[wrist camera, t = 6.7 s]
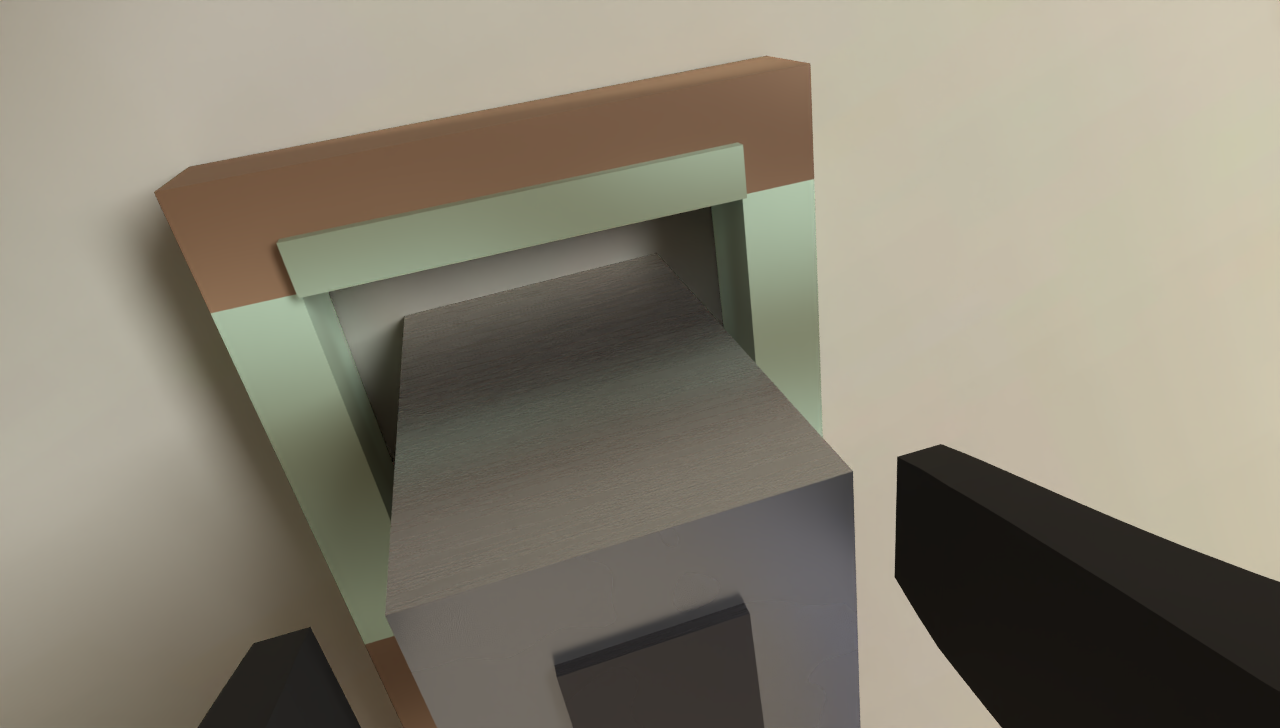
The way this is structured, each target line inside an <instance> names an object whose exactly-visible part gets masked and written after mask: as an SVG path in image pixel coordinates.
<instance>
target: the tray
mask: <svg viewBox="0 0 1280 728" xmlns="http://www.w3.org/2000/svg"><path fill="white" fill-rule="evenodd" d="M154 193H155V195H156V197H157V200H158V202H159V204H160V206H161V208H162V210H163V212H164V215H165V217H166V219H167V221H168V223H169V225H170V227H171V230H172V232H173V234H174V236H175V238H176V240H177V242H178V245H179V247H180V249H181V251H182V253H183V255H184V258H185V260H186V262H187V264H188V266H189V268H190V270H191V273H192V275H193V277H194V279H195V281H196V283H197V285H198V288H199V290H200V292H201V294H202V296H203V298H204V300H205V303H206V305H207V307H208V309H209V311H210V313H211V315H212V318H213V320H214V322H215V324H216V326H217V328H218V330H219V333H220V335H221V337H222V339H223V341H224V343H225V346H226V348H227V350H228V352H229V354H230V356H231V358H232V361H233V363H234V365H235V367H236V369H237V371H238V373H239V376H240V378H241V380H242V382H243V384H244V386H245V388H246V391H247V393H248V395H249V397H250V399H251V401H252V403H253V406H254V408H255V410H256V412H257V414H258V416H259V419H260V421H261V423H262V425H263V427H264V429H265V431H266V434H267V436H268V438H269V440H270V442H271V444H272V446H273V449H274V451H275V453H276V455H277V457H278V459H279V461H280V464H281V466H282V468H283V470H284V472H285V474H286V476H287V479H288V481H289V483H290V485H291V487H292V489H293V491H294V494H295V496H296V498H297V500H298V502H299V504H300V507H301V509H302V511H303V513H304V515H305V517H306V519H307V522H308V524H309V526H310V528H311V530H312V532H313V534H314V537H315V539H316V541H317V543H318V545H319V547H320V549H321V552H322V554H323V556H324V558H325V560H326V562H327V564H328V567H329V569H330V571H331V573H332V575H333V577H334V579H335V582H336V584H337V586H338V588H339V590H340V592H341V595H342V597H343V599H344V601H345V603H346V605H347V607H348V610H349V612H350V614H351V616H352V618H353V620H354V622H355V625H356V627H357V629H358V631H359V633H360V635H361V637H362V640H363V642H364V644H365V646H366V648H367V650H368V652H369V655H370V657H371V659H372V661H373V663H374V665H375V668H376V670H377V672H378V674H379V676H380V678H381V680H382V683H383V685H384V687H385V689H386V691H387V693H388V695H389V698H390V700H391V702H392V704H393V706H394V708H395V710H396V713H397V715H398V717H399V719H400V721H401V723H402V725H403V728H437V726H436V724H435V722H434V720H433V718H432V716H431V713H430V711H429V709H428V707H427V705H426V703H425V701H424V698H423V696H422V694H421V692H420V690H419V688H418V685H417V683H416V681H415V679H414V677H413V675H412V673H411V670H410V668H409V666H408V664H407V662H406V660H405V657H404V655H403V653H402V651H401V649H400V647H399V645H398V642H397V640H396V638H395V636H394V634H393V632H392V630H391V627H390V625H389V623H388V621H387V619H386V617H385V609H386V593H387V578H388V563H389V547H390V532H391V516H392V501H393V485H394V470H395V468H394V466H393V463H392V461H391V458H390V455H389V453H388V450H387V447H386V445H385V442H384V439H383V437H382V434H381V431H380V429H379V426H378V423H377V421H376V418H375V415H374V413H373V410H372V407H371V405H370V402H369V399H368V397H367V394H366V391H365V389H364V386H363V383H362V381H361V378H360V375H359V373H358V370H357V368H356V365H355V362H354V360H353V357H352V354H351V352H350V349H349V346H348V344H347V341H346V338H345V336H344V333H343V330H342V328H341V325H340V322H339V320H338V317H337V314H336V312H335V309H334V306H333V304H332V301H331V298H330V296H329V293H328V292H329V291H334V290H338V289H343V288H347V287H352V286H356V285H361V284H365V283H370V282H374V281H379V280H383V279H388V278H392V277H397V276H401V275H406V274H410V273H414V272H419V271H423V270H428V269H432V268H437V267H441V266H446V265H450V264H455V263H459V262H464V261H468V260H473V259H477V258H482V257H486V256H491V255H495V254H499V253H504V252H508V251H513V250H517V249H522V248H526V247H531V246H535V245H540V244H544V243H549V242H553V241H558V240H562V239H567V238H571V237H576V236H580V235H584V234H589V233H593V232H598V231H602V230H607V229H611V228H616V227H620V226H625V225H629V224H634V223H638V222H643V221H647V220H652V219H656V218H661V217H665V216H669V215H674V214H678V213H683V212H687V211H692V210H696V209H701V208H705V207H710V206H711V210H712V220H713V229H714V239H715V249H716V259H717V269H718V279H719V288H720V298H721V308H722V318H723V328H724V329H725V330H726V331H727V332H728V333H729V334H730V335H731V336H732V338H733V339H734V340H735V341H736V342H737V343H738V344H739V345H740V346H741V348H742V349H743V350H744V351H745V352H746V353H747V354H748V355H749V356H750V358H751V359H752V360H753V361H754V362H755V363H756V364H757V365H758V366H759V368H760V369H761V370H762V371H763V372H764V373H765V374H766V375H767V376H768V378H769V379H770V380H771V381H772V382H773V383H774V384H775V385H776V386H777V388H778V389H779V390H780V391H781V392H782V393H783V394H784V395H785V397H786V398H787V399H788V400H789V401H790V402H791V403H792V404H793V405H794V407H795V408H796V409H797V410H798V411H799V412H800V413H801V414H802V415H803V417H804V418H805V419H806V420H807V421H808V422H809V423H810V424H811V425H812V427H813V428H814V429H815V430H816V431H817V432H818V433H819V434H820V435H821V437H822V438H823V435H822V405H821V374H820V344H819V313H818V283H817V252H816V222H815V191H814V161H813V130H812V100H811V69H810V63H804V62H798V61H793V60H787V59H781V58H775V57H770V56H763V57H758V58H753V59H748V60H742V61H737V62H732V63H727V64H722V65H716V66H711V67H706V68H701V69H696V70H690V71H685V72H680V73H675V74H670V75H664V76H659V77H654V78H649V79H644V80H638V81H633V82H628V83H623V84H618V85H612V86H607V87H602V88H597V89H592V90H586V91H581V92H576V93H571V94H566V95H560V96H555V97H550V98H545V99H540V100H534V101H529V102H524V103H519V104H514V105H508V106H503V107H498V108H493V109H488V110H482V111H477V112H472V113H467V114H462V115H456V116H451V117H446V118H441V119H436V120H430V121H425V122H420V123H415V124H410V125H404V126H399V127H394V128H389V129H383V130H378V131H373V132H368V133H363V134H357V135H352V136H347V137H342V138H337V139H331V140H326V141H321V142H316V143H311V144H305V145H300V146H295V147H290V148H285V149H279V150H274V151H269V152H264V153H259V154H253V155H248V156H243V157H238V158H233V159H227V160H222V161H217V162H212V163H207V164H201V165H196V166H191V167H188V168H187V169H186V170H184V171H183V172H181V173H180V174H179V175H177V176H176V177H174V178H173V179H172V180H170V181H169V182H167V183H166V184H165V185H163V186H162V187H161V188H159V189H158V190H156V191H155V192H154Z"/></svg>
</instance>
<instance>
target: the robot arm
mask: <svg viewBox="0 0 1280 728" xmlns="http://www.w3.org/2000/svg"><path fill="white" fill-rule="evenodd" d="M895 578H896V580H897V582H898V583H899V585H900V587H901V588H902V590H903V592H904V593H905V595H906V597H907V598H908V600H909V602H910V603H911V605H912V607H913V608H914V610H915V612H916V613H917V615H918V617H919V618H920V620H921V621H922V623H923V624H924V626H925V627H926V629H927V631H928V632H929V634H930V635H931V637H932V638H933V640H934V642H935V643H936V645H937V646H938V648H939V649H940V650H941V652H942V653H943V654H944V655H945V657H946V658H947V659H948V661H949V662H950V663H951V664H952V666H953V667H954V668H955V670H956V671H957V672H958V673H959V675H960V676H961V677H962V678H963V680H964V681H965V682H966V683H967V685H968V686H969V687H970V688H971V690H972V691H973V692H974V693H975V695H976V696H977V697H978V699H979V700H980V701H981V702H982V704H983V705H984V706H985V707H986V709H987V710H988V711H989V712H990V713H991V715H992V716H993V717H994V718H995V720H996V721H997V722H998V723H999V725H1000V726H1001V727H1002V728H1280V582H1278V581H1275V580H1272V579H1270V578H1267V577H1264V576H1261V575H1258V574H1256V573H1253V572H1250V571H1248V570H1245V569H1242V568H1240V567H1237V566H1234V565H1232V564H1229V563H1226V562H1224V561H1221V560H1218V559H1216V558H1213V557H1210V556H1208V555H1205V554H1203V553H1200V552H1197V551H1195V550H1192V549H1189V548H1187V547H1184V546H1181V545H1179V544H1176V543H1174V542H1171V541H1169V540H1167V539H1164V538H1162V537H1159V536H1157V535H1154V534H1152V533H1149V532H1147V531H1144V530H1142V529H1139V528H1137V527H1134V526H1132V525H1130V524H1127V523H1125V522H1122V521H1120V520H1118V519H1115V518H1113V517H1111V516H1108V515H1106V514H1103V513H1101V512H1099V511H1096V510H1094V509H1092V508H1089V507H1087V506H1085V505H1082V504H1080V503H1078V502H1075V501H1073V500H1071V499H1069V498H1066V497H1064V496H1062V495H1059V494H1057V493H1055V492H1052V491H1050V490H1048V489H1046V488H1043V487H1041V486H1039V485H1037V484H1034V483H1032V482H1030V481H1027V480H1025V479H1023V478H1021V477H1018V476H1016V475H1014V474H1011V473H1009V472H1007V471H1005V470H1002V469H1000V468H998V467H995V466H993V465H991V464H988V463H986V462H984V461H981V460H979V459H977V458H974V457H972V456H970V455H967V454H965V453H962V452H960V451H957V450H955V449H952V448H949V447H947V446H944V445H941V444H940V445H937V446H933V447H930V448H926V449H923V450H919V451H916V452H913V453H909V454H906V455H902V456H899V457H897V499H896V543H895ZM198 728H361V727H360V725H359V723H358V721H357V719H356V717H355V715H354V713H353V711H352V709H351V707H350V705H349V703H348V701H347V699H346V697H345V695H344V693H343V691H342V689H341V687H340V685H339V683H338V681H337V679H336V677H335V675H334V673H333V671H332V669H331V667H330V665H329V663H328V661H327V659H326V657H325V655H324V653H323V651H322V649H321V647H320V645H319V643H318V641H317V639H316V638H315V636H314V634H313V632H312V630H311V628H310V627H309V628H305V629H302V630H299V631H295V632H292V633H288V634H285V635H281V636H278V637H274V638H271V639H267V640H264V641H261V642H257V643H254V644H253V645H252V647H251V648H250V650H249V651H248V652H247V654H246V655H245V657H244V658H243V660H242V661H241V663H240V664H239V666H238V667H237V669H236V670H235V672H234V673H233V675H232V676H231V678H230V679H229V681H228V682H227V684H226V685H225V687H224V688H223V690H222V691H221V693H220V694H219V696H218V697H217V699H216V700H215V702H214V703H213V705H212V707H211V708H210V710H209V711H208V713H207V714H206V716H205V717H204V719H203V720H202V722H201V723H200V725H199V726H198Z"/></svg>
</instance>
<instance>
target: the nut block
mask: <svg viewBox="0 0 1280 728" xmlns="http://www.w3.org/2000/svg"><path fill="white" fill-rule="evenodd" d="M385 617H386V619H387V621H388V623H389V625H390V627H391V630H392V632H393V634H394V636H395V638H396V640H397V642H398V645H399V647H400V649H401V651H402V653H403V655H404V657H405V660H406V662H407V664H408V666H409V668H410V670H411V673H412V675H413V677H414V679H415V681H416V683H417V685H418V688H419V690H420V692H421V694H422V696H423V698H424V701H425V703H426V705H427V707H428V709H429V711H430V713H431V716H432V718H433V720H434V722H435V724H436V726H437V728H860V700H859V665H858V631H857V597H856V563H855V529H854V495H853V471H852V470H851V469H850V468H849V467H848V465H847V464H846V463H845V462H844V461H843V460H842V459H841V458H840V457H839V455H838V454H837V453H836V452H835V451H834V450H833V449H832V448H831V447H830V445H829V444H828V443H827V442H826V441H825V440H824V439H823V438H822V437H821V435H820V434H819V433H818V432H817V431H816V430H815V429H814V428H813V427H812V425H811V424H810V423H809V422H808V421H807V420H806V419H805V418H804V417H803V415H802V414H801V413H800V412H799V411H798V410H797V409H796V408H795V407H794V405H793V404H792V403H791V402H790V401H789V400H788V399H787V398H786V397H785V395H784V394H783V393H782V392H781V391H780V390H779V389H778V388H777V386H776V385H775V384H774V383H773V382H772V381H771V380H770V379H769V378H768V376H767V375H766V374H765V373H764V372H763V371H762V370H761V369H760V368H759V366H758V365H757V364H756V363H755V362H754V361H753V360H752V359H751V358H750V356H749V355H748V354H747V353H746V352H745V351H744V350H743V349H742V348H741V346H740V345H739V344H738V343H737V342H736V341H735V340H734V339H733V338H732V336H731V335H730V334H729V333H728V332H727V331H726V330H725V329H724V328H723V326H722V325H721V324H720V323H719V322H718V321H717V320H716V319H715V318H714V316H713V315H712V314H711V313H710V312H709V311H708V310H707V309H706V308H705V306H704V305H703V304H702V303H701V302H700V301H699V300H698V299H697V298H696V296H695V295H694V294H693V293H692V292H691V291H690V290H689V289H688V287H687V286H686V285H685V284H684V283H683V282H682V281H681V280H680V279H679V277H678V276H677V275H676V274H675V273H674V272H673V271H672V270H671V269H670V267H669V266H668V265H667V264H666V263H665V262H664V261H663V260H662V259H661V257H660V256H659V255H658V254H657V253H655V254H651V255H647V256H643V257H639V258H635V259H631V260H627V261H623V262H619V263H615V264H611V265H607V266H603V267H599V268H595V269H591V270H587V271H583V272H579V273H575V274H571V275H567V276H563V277H559V278H555V279H551V280H547V281H543V282H539V283H535V284H531V285H527V286H523V287H519V288H515V289H511V290H507V291H503V292H499V293H495V294H491V295H487V296H483V297H479V298H475V299H471V300H467V301H463V302H459V303H455V304H451V305H447V306H443V307H439V308H435V309H431V310H427V311H423V312H419V313H415V314H411V315H407V316H404V331H403V346H402V361H401V377H400V392H399V408H398V423H397V439H396V454H395V470H394V485H393V501H392V516H391V532H390V547H389V563H388V578H387V593H386V609H385Z"/></svg>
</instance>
